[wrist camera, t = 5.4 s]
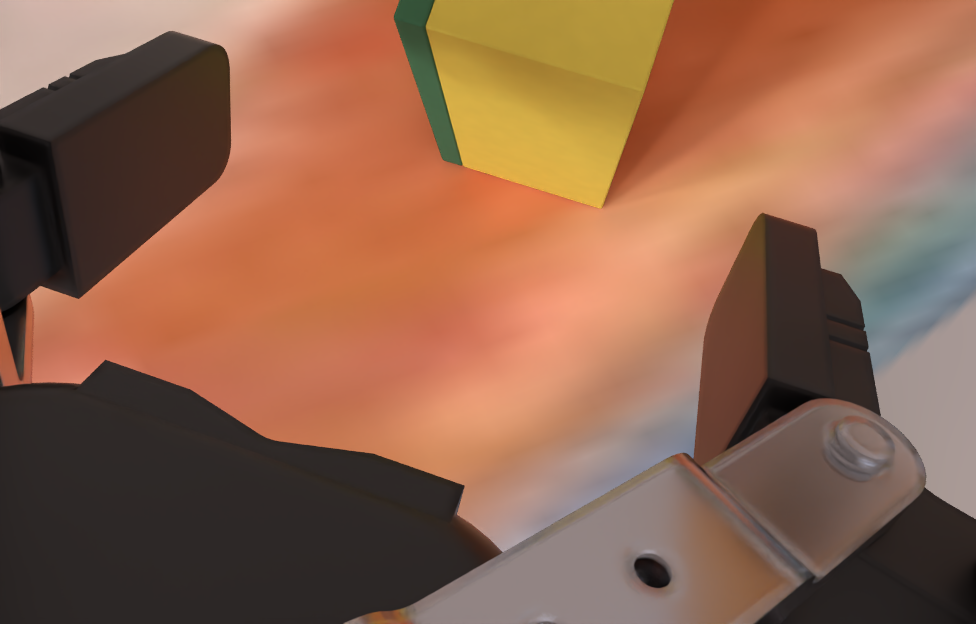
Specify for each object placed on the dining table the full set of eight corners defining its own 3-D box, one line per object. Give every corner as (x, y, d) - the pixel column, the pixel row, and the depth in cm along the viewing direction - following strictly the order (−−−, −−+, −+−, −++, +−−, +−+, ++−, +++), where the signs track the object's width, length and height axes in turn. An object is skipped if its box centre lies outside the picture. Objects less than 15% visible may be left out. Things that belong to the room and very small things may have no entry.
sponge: (442, 160, 22) (391, 17, 14) (498, -4, 22) (482, -231, 14) (601, 209, 21) (644, 91, 13) (656, 42, 22) (728, -167, 14)
